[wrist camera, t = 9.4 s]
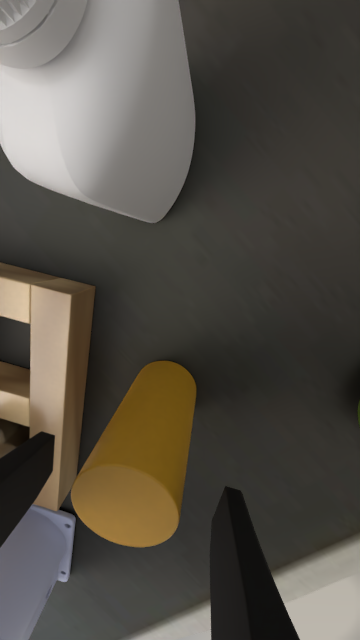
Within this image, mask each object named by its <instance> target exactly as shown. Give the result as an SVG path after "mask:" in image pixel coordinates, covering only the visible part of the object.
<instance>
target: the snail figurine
mask: <svg viewBox="0 0 360 640" xmlns="http://www.w3.org/2000/svg"><path fill="white" fill-rule="evenodd" d="M358 422H359V426H360V400H359V404H358Z"/></svg>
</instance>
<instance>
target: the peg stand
mask: <svg viewBox="0 0 360 640" xmlns="http://www.w3.org/2000/svg"><path fill="white" fill-rule="evenodd" d="M94 297H95V286H92V285H88V284H84V283H80V282H76V281H72V280H68V279H64V278H59V277H56V276H52V275H48V274H44V273H40V272H36V271H32V270H28V269H24V268H20V267H16V266H12V265H8V264H4V263H0V316H3V317H6V318H10V319H14V320H17V321H21V322H25V323H29V324H30V323H31V333H30V370H29V369H26V368H22V367H19V366H15V365H12V364H8V363H5V362H1V361H0V418H1V419H5V420H8V421H11V422H15V423H18V424H21V425H25V426H28V427H29V426H30V438H31V437H33V436H34V435H36V434H37V433H39V432H41V431H43V432H46V433H49V434H53V435H55V445H54V462H53V472H52V474H51V475H50V477H49V479H48V480H47V482H46V484H45V485H44V487H43V489H42V490H41V492H40V494H39V495H38V497H37V498H36V500H35V501H34V503H33V504H35V505H38V506H41V507H44V508H47V509H50V510H54V511H58V509H59V508H60V506H61V504H62V503H63V501H64V499H65V498H66V496H67V494H68V493H69V491H70V489H71V487H72V485H73V483H74V480H75V479H76V477H77V467H78V457H79V447H80V437H81V427H82V417H83V407H84V397H85V387H86V377H87V367H88V357H89V347H90V337H91V327H92V317H93V307H94Z"/></svg>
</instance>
